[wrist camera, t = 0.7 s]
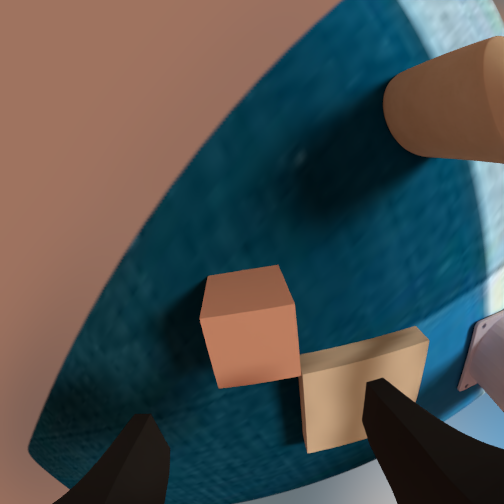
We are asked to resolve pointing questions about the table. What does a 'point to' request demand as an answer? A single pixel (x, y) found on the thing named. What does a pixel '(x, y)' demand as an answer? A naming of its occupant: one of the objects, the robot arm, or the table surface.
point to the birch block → (355, 383)
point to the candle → (451, 104)
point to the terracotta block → (250, 327)
